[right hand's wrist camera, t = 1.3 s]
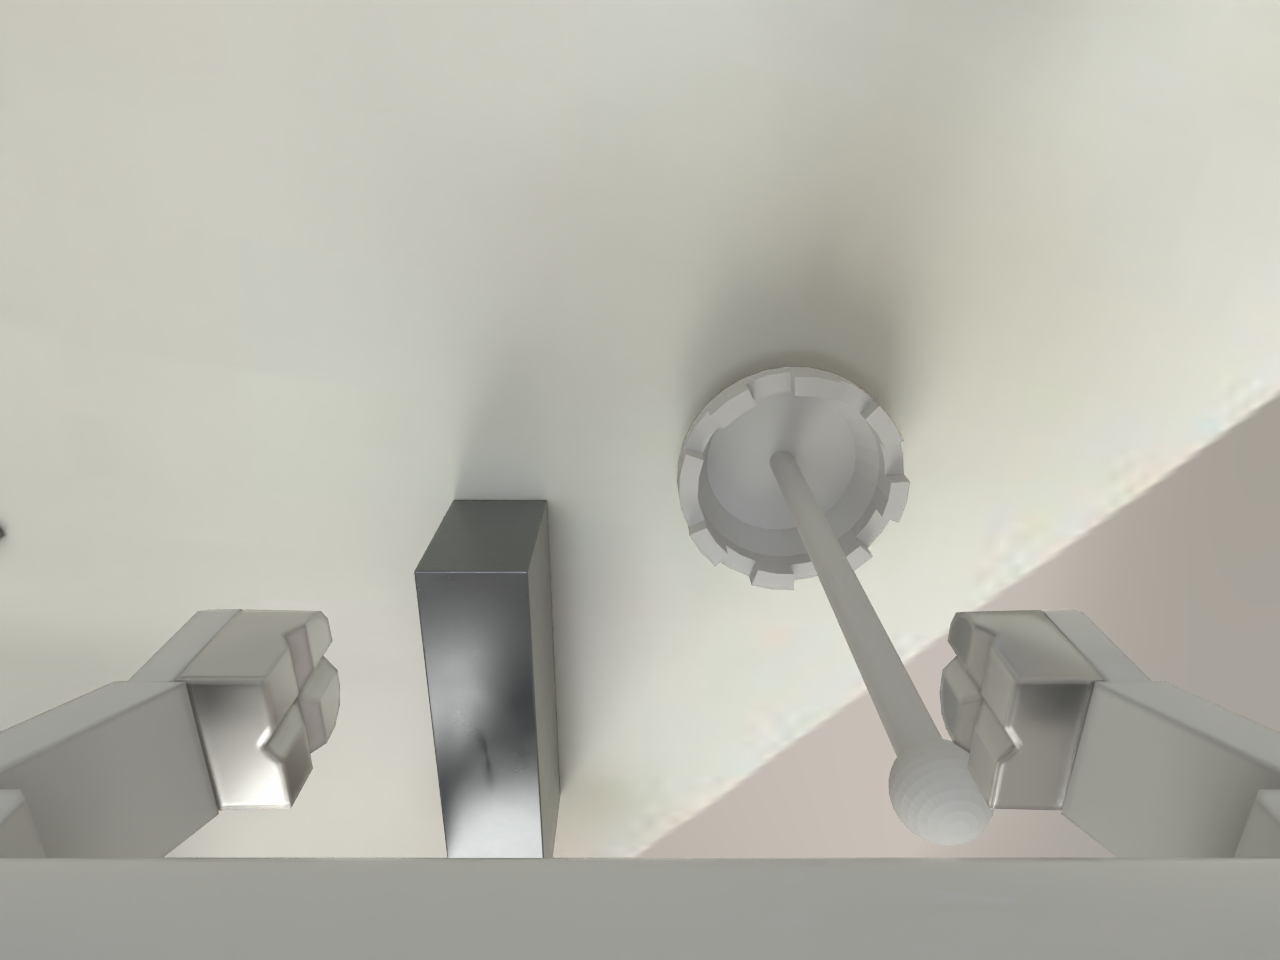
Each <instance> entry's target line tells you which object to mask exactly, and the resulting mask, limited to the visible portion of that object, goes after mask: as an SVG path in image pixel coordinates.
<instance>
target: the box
mask: <svg viewBox="0 0 1280 960" xmlns="http://www.w3.org/2000/svg"><path fill="white" fill-rule="evenodd" d="M414 573H415V582H416V590H417V599H418V608H419V616H420V625H421V633H422V642H423V651H424V659H425V668H426V676H427V685H428V694H429V702H430V711H431V720H432V728H433V737H434V745H435V754H436V763H437V771H438V780H439V788H440V797H441V806H442V814H443V823H444V831H445V840H446V849H447V857H448V858H553V850H554V842H555V834H556V825H557V817H558V809H559V801H560V783H559V760H558V737H557V715H556V692H555V670H554V647H553V624H552V602H551V579H550V557H549V534H548V511H547V501H509V500H454V501H453V502H452V504H451V506H450V508H449V510H448V511H447V513H446V515H445V517H444V519H443V520H442V522H441V524H440V526H439V528H438V530H437V531H436V533H435V535H434V537H433V539H432V540H431V542H430V544H429V546H428V548H427V550H426V551H425V553H424V555H423V557H422V559H421V561H420V562H419V564H418V566H417V568H416V570H415V572H414Z"/></svg>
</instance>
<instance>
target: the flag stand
mask: <svg viewBox="0 0 1280 960" xmlns="http://www.w3.org/2000/svg"><path fill="white" fill-rule="evenodd" d="M902 441H904V440H903V438H902V436H901V435H900V433H899V431H898V429H897V427H896V425H895V423H894V422H893V420H892V419H891V418H890V417H889V416H888V415H887V413H886V412H885V411H884V410H883V409H882V408H881V406H880V405H879V404H878V403H877V402H876V401H875V400H874V399H873V398H872V397H871V396H870V395H869V394H868V393H866V392H865V391H864V390H862V389H861V388H860V387H858V386H857V385H856V384H854V383H853V382H852V381H850V380H847V379H845V378H843V377H841V376H839V375H837V374H834V373H832V372H828V371H824V370H820V369H815V368H811V367H781V368H775V369H769V370H764V371H761V372H758V373H756V374H753V375H750V376H747V377H745V378H742V379H741V380H739V381H737V382H736V383H734V384H732V385H731V386H729V387H727V388H725V389H724V390H723V391H721V392H720V393H719V394H718V395H717V396H716V397H715V398H713V399H712V400H711V401H710V402H709V403H708V404H707V405H706V406H705V407H704V409H703V410H702V411H701V412H700V414H699V415H698V416H697V418H696V419H695V420H694V421H693V423H692V425H691V427H690V429H689V431H688V433H687V435H686V437H685V439H684V441H683V445H682V449H681V453H680V456H679V460H678V476H677V483H678V492H679V497H680V503H681V509H682V511H683V514H684V517H685V519H686V522H687V524H688V527H689V534H690V537H691V538H692V540H693V541H694V543H695V544H696V546H697V547H698V549H699V550H700V552H701V553H702V554H703V555H704V556H705V557H706V558H707V559H708V560H709V561H710V562H711V563H712V564H713V565H715V566H716V565H717V564H718V563H719V562H722V563H723V564H725V565H726V566H728V567H729V568H731V569H733V570H736V571H738V572H741V573H743V574H746V575H748V576H749V577H750V581H751V585H753V586H758V587H763V588H768V589H776V590H794V580H798V579H804V578H811V577H814V576H817V575H818V577H819V579H820V582H821V584H822V586H823V588H824V591H825V593H826V595H827V598H828V600H829V602H830V604H831V607H832V609H833V611H834V614H835V616H836V618H837V620H838V623H839V625H840V627H841V630H842V632H843V634H844V636H845V639H846V641H847V643H848V646H849V648H850V650H851V652H852V655H853V657H854V659H855V662H856V664H857V666H858V668H859V671H860V673H861V675H862V678H863V680H864V682H865V684H866V687H867V689H868V691H869V694H870V696H871V698H872V700H873V703H874V705H875V707H876V710H877V712H878V714H879V716H880V719H881V721H882V723H883V726H884V728H885V730H886V733H887V735H888V737H889V739H890V742H891V744H892V746H893V749H894V751H895V753H896V755H897V758H896V760H895V761H894V764H893V766H892V768H891V771H890V776H889V795H890V799H891V802H892V805H893V808H894V810H895V812H896V814H897V815H898V817H899V819H900V820H901V822H902V823H903V824H904V825H905V826H906V827H907V828H908V829H909V830H910V831H911V832H912V833H914V834H915V835H917V836H918V837H920V838H922V839H924V840H925V841H928V842H931V843H934V844H938V845H944V846H952V845H959V844H963V843H966V842H968V841H970V840H972V839H974V838H976V837H977V836H978V835H980V834H981V833H982V832H983V831H984V830H985V828H986V827H987V825H988V824H989V822H990V820H991V818H992V816H993V812H994V809H992V808H989V807H988V805H987V803H986V801H985V800H984V798H983V796H982V794H981V792H980V791H979V789H978V787H977V785H976V783H975V782H974V780H973V778H972V776H971V774H970V772H969V771H968V769H967V767H968V761H969V756H970V753H968V752H967V751H965V750H963V749H962V748H960V747H959V746H957V745H956V744H954V743H953V742H952V741H950V740H944V739H942V737H941V735H940V733H939V731H938V730H937V728H936V726H935V724H934V722H933V720H932V718H931V716H930V714H929V712H928V711H927V709H926V707H925V705H924V703H923V701H922V699H921V697H920V696H919V694H918V692H917V690H916V688H915V686H914V684H913V682H912V680H911V679H910V677H909V675H908V673H907V671H906V669H905V667H904V665H903V663H902V661H901V660H900V658H899V656H898V654H897V652H896V650H895V648H894V646H893V645H892V643H891V641H890V639H889V637H888V635H887V633H886V631H885V629H884V628H883V626H882V624H881V622H880V620H879V618H878V616H877V614H876V612H875V611H874V609H873V607H872V605H871V603H870V601H869V599H868V597H867V595H866V594H865V592H864V590H863V588H862V586H861V584H860V582H859V580H858V578H857V577H856V575H855V573H854V570H856V569H857V568H859V567H860V566H861V565H862V564H864V563H865V562H866V561H868V560H869V559H870V558H872V555H871V553H870V552H869V550H868V547H869V546H870V545H871V543H872V542H873V541H874V540H875V539H876V538H877V537H878V536H879V535H880V534H881V532H882V531H883V529H884V528H885V526H886V525H887V523H888V521H889V520H892V521H896V522H899V521H900V518H901V516H902V513H903V510H904V508H905V505H906V503H907V497H908V491H909V485H910V481H909V480H908V479H907V478H906V477H905V475H904V469H903V453H902V449H901V445H900V442H902Z"/></svg>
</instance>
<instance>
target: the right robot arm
mask: <svg viewBox="0 0 1280 960" xmlns="http://www.w3.org/2000/svg"><path fill="white" fill-rule="evenodd" d="M331 642H332V636H331V632H330V627H329V622H328V618H327V617H326V616H325V615H324V614H323V613H322V612H321V611H288V610H241V609H218V610H204V611H198V612H197V613H196V614H195V615H194V616H193V617H192V618H191V619H190V620H189V621H188V622H187V623H186V624H185V625H184V626H183V627H182V628H181V629H180V630H179V631H178V632H177V633H176V634H175V635H174V636H173V637H172V638H171V639H170V640H169V641H168V642H167V643H166V644H165V645H164V646H163V647H162V648H161V649H160V650H159V651H158V652H157V653H156V654H155V655H154V656H153V657H152V658H151V659H150V660H149V661H148V662H147V663H146V664H145V665H144V666H143V667H142V668H141V669H140V670H139V671H138V672H137V673H136V674H135V675H134V676H133V677H132V678H131V679H130V680H129V681H128V682H113V683H110V684H108V685H106V686H103V687H101V688H99V689H97V690H94V691H92V692H90V693H88V694H85V695H83V696H81V697H78V698H76V699H74V700H72V701H69V702H67V703H65V704H63V705H60V706H58V707H56V708H54V709H51V710H49V711H47V712H44V713H42V714H40V715H38V716H35V717H33V718H31V719H29V720H26V721H24V722H22V723H19V724H17V725H15V726H13V727H10V728H8V729H6V730H4V731H1V732H0V960H1280V732H1278V731H1276V730H1274V729H1271V728H1269V727H1267V726H1265V725H1263V724H1260V723H1258V722H1256V721H1253V720H1251V719H1249V718H1247V717H1244V716H1242V715H1240V714H1238V713H1235V712H1233V711H1231V710H1229V709H1226V708H1224V707H1222V706H1220V705H1217V704H1215V703H1213V702H1210V701H1208V700H1206V699H1204V698H1201V697H1199V696H1197V695H1195V694H1192V693H1190V692H1188V691H1186V690H1183V689H1181V688H1179V687H1177V686H1174V685H1172V684H1170V683H1167V682H1152V681H1151V680H1150V679H1149V678H1148V677H1147V676H1146V675H1145V674H1144V673H1143V672H1142V671H1141V670H1140V669H1139V668H1138V667H1137V666H1136V665H1135V664H1134V663H1133V662H1132V661H1131V660H1130V659H1129V658H1128V657H1127V656H1126V655H1125V654H1124V653H1123V652H1122V651H1121V650H1120V649H1119V648H1118V647H1117V646H1116V645H1115V644H1114V643H1113V642H1112V641H1111V640H1110V639H1109V638H1108V637H1107V636H1106V635H1105V634H1104V633H1103V632H1102V631H1101V630H1100V629H1099V628H1098V627H1097V626H1096V625H1095V624H1094V623H1093V622H1092V621H1091V620H1090V619H1089V618H1088V617H1087V616H1086V615H1085V614H1084V613H1083V612H1081V611H1078V610H1075V609H1055V610H1024V611H983V612H958V613H956V614H955V616H954V618H953V620H952V622H951V625H950V630H949V636H948V642H949V644H950V645H951V647H952V649H953V650H954V652H955V653H956V655H957V656H956V657H955V658H954V659H953V660H952V661H951V662H950V663H949V664H948V665H947V666H946V667H945V668H944V669H943V671H942V679H941V686H940V701H941V712H942V716H943V720H944V723H945V726H946V729H947V731H948V733H949V735H950V737H951V739H952V741H953V743H954V744H956V745H957V746H959V747H960V748H962V749H963V750H965V751H967V752H968V753H970V756H969V761H968V767H967V769H968V771H969V772H970V774H971V776H972V778H973V780H974V782H975V783H976V785H977V787H978V789H979V791H980V792H981V794H982V796H983V798H984V800H985V801H986V803H987V805H988V807H989V808H992V809H1030V810H1062V812H1061V814H1062V815H1064V816H1065V817H1066V818H1067V819H1069V820H1070V821H1071V822H1073V823H1074V824H1075V825H1076V826H1078V827H1079V828H1080V829H1082V830H1083V831H1084V832H1085V833H1087V834H1088V835H1089V836H1091V837H1092V838H1093V839H1094V840H1096V841H1097V842H1098V843H1099V844H1101V845H1102V846H1103V847H1105V848H1106V849H1107V850H1108V851H1110V852H1111V853H1112V854H1114V855H1115V856H1116V857H1117V858H163V857H164V856H165V855H167V854H168V853H169V852H171V851H172V850H173V849H174V848H176V847H177V846H178V845H180V844H181V843H182V842H183V841H185V840H186V839H187V838H188V837H190V836H191V835H192V834H194V833H195V832H196V831H197V830H199V829H200V828H201V827H203V826H204V825H205V824H206V823H208V822H209V821H210V820H212V819H213V818H214V817H215V816H217V815H218V813H219V812H218V810H250V809H285V808H291V807H292V805H293V803H294V802H295V800H296V798H297V796H298V794H299V793H300V791H301V789H302V787H303V785H304V783H305V782H306V780H307V778H308V776H309V774H310V772H311V771H312V769H313V767H312V761H311V756H310V753H312V752H314V751H315V750H317V749H318V748H320V747H321V746H323V745H324V744H326V743H327V741H328V739H329V737H330V735H331V733H332V731H333V729H334V727H335V724H336V719H337V715H338V710H339V706H340V684H339V677H338V671H337V669H336V668H335V667H334V666H333V665H332V664H331V663H330V662H329V661H328V660H327V659H326V658H325V657H324V656H323V655H324V653H325V652H326V650H327V649H328V647H329V645H330V644H331Z"/></svg>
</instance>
